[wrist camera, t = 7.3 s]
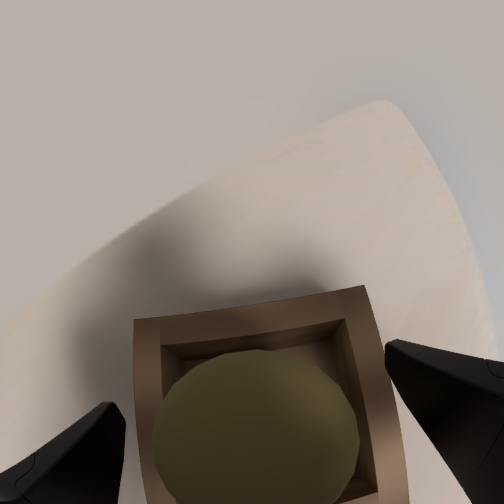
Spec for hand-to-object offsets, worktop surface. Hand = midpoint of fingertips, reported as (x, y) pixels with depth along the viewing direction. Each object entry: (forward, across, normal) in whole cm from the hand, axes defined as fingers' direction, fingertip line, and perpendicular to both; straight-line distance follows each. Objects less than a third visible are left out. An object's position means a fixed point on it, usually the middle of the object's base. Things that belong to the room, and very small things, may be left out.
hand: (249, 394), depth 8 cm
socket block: (+5, 0, +7) cm, 9 cm away
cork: (+5, 0, +7) cm, 8 cm away
